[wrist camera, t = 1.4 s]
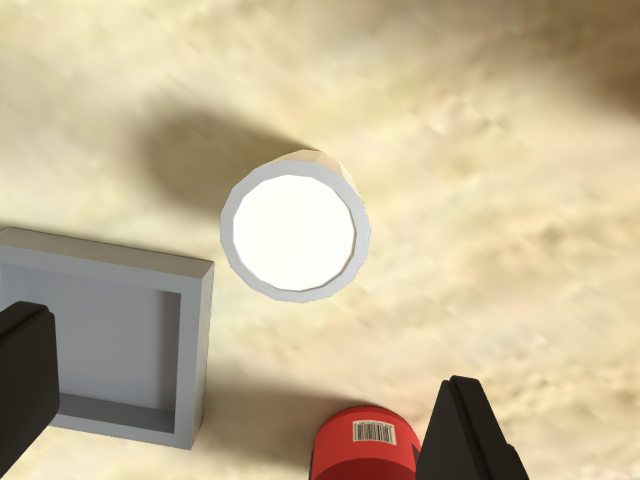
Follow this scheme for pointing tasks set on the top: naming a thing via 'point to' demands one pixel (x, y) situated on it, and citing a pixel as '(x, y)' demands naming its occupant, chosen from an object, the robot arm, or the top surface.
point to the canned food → (364, 447)
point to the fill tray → (118, 332)
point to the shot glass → (296, 227)
